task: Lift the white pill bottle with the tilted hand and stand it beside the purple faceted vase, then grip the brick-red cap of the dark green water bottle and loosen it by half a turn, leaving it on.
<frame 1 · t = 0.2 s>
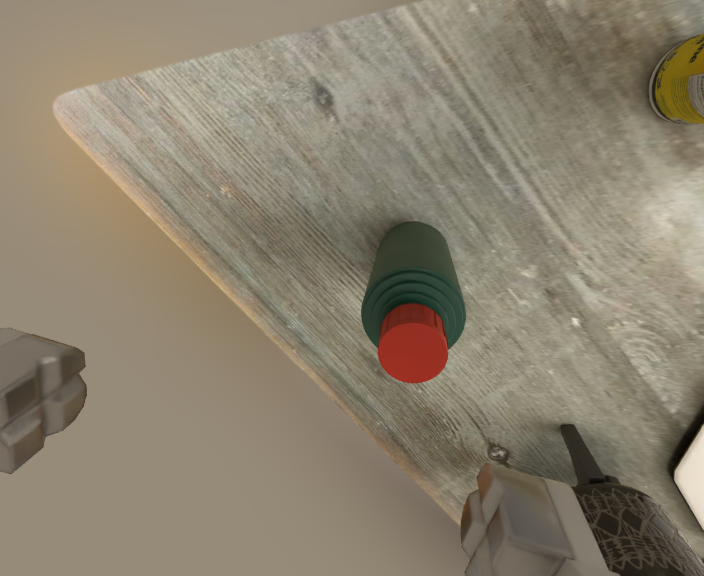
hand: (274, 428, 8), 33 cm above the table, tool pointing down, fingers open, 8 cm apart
water bottle: (412, 256, 40), on the table
planter: (567, 463, 47), on the table
pill bottle: (686, 81, 32), on the table
cap: (412, 350, 23), point 19 cm above the table, screwed on, not yet turned
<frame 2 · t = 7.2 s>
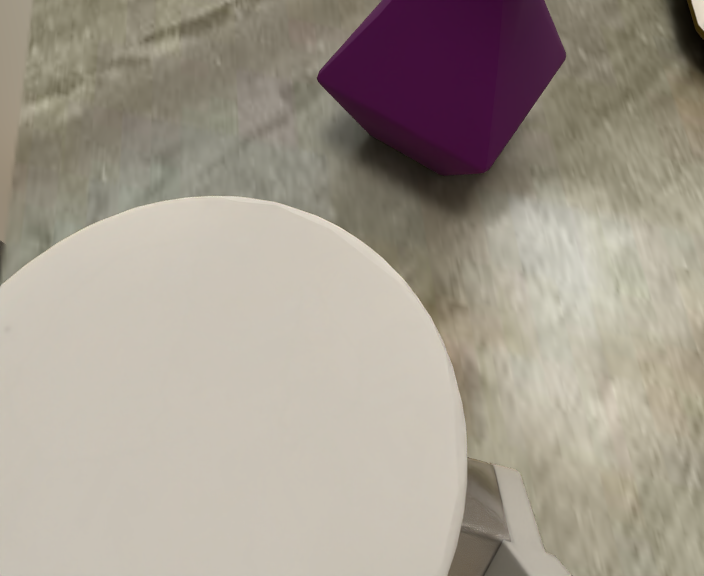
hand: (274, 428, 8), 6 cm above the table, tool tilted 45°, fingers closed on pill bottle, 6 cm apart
purple faceted vase: (426, 130, 19), on the table
pill bottle: (297, 449, 14), on the table, touching gripper
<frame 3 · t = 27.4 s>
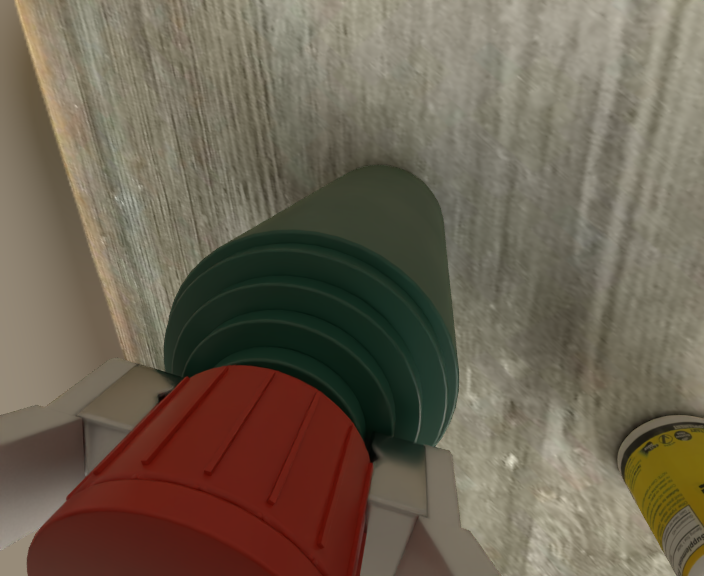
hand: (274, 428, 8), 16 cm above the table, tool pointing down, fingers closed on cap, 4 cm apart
water bottle: (378, 231, 22), on the table, touching gripper
pill bottle: (668, 450, 24), on the table
when the fingers open (16 cm above the table, at t = 30.3 s): cap stays where it is, point 19 cm above the table.
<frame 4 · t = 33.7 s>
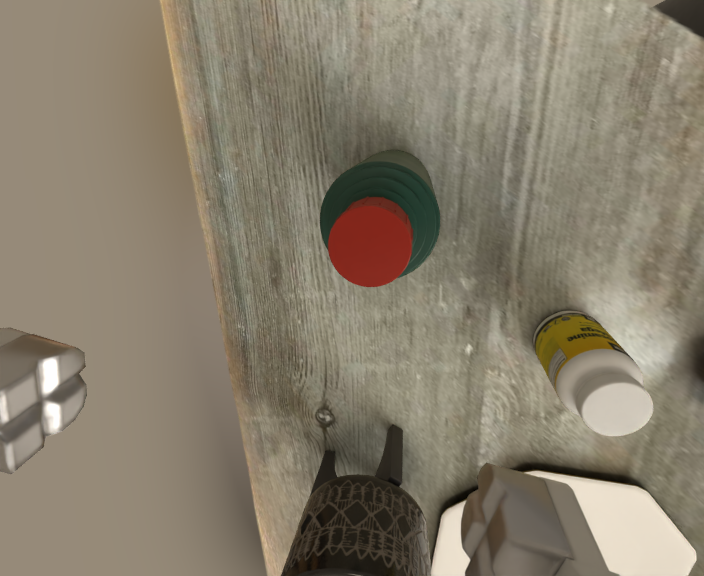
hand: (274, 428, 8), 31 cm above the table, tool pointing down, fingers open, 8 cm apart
water bottle: (391, 191, 37), on the table
plate: (550, 554, 49), on the table
planter: (373, 457, 48), on the table
pill bottle: (564, 336, 39), on the table
cap: (369, 245, 19), point 19 cm above the table, turned 179° so far, risen 0.2 cm, still on its thread
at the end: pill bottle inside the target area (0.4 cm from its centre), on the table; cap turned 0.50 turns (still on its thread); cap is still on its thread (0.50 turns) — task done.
